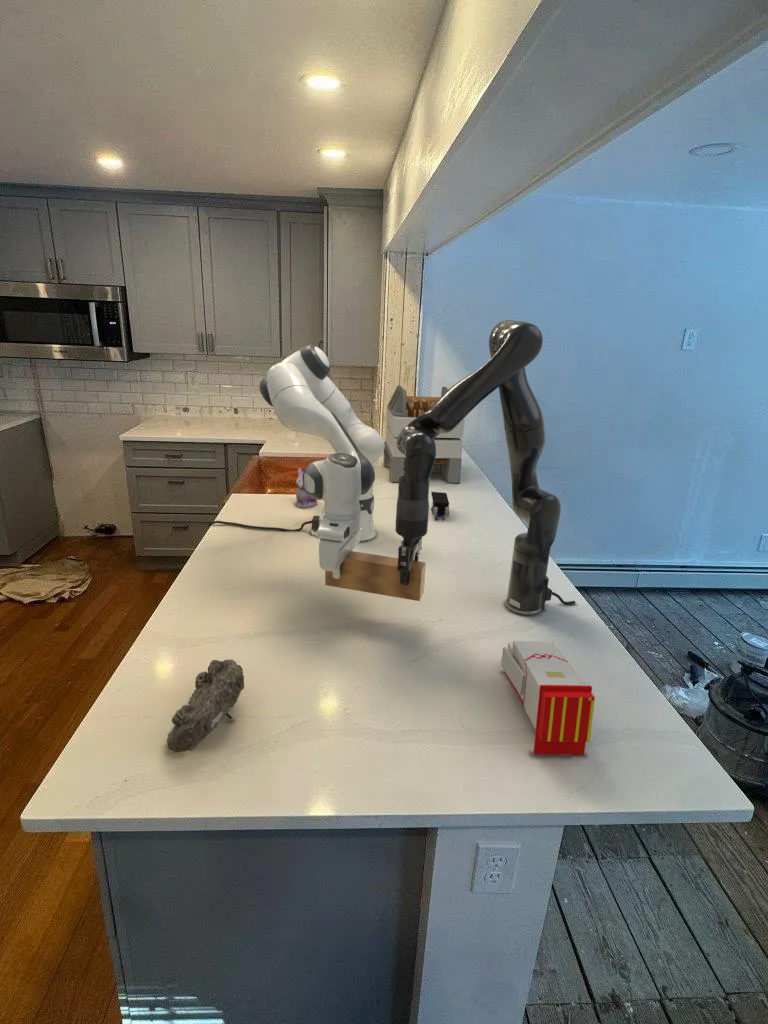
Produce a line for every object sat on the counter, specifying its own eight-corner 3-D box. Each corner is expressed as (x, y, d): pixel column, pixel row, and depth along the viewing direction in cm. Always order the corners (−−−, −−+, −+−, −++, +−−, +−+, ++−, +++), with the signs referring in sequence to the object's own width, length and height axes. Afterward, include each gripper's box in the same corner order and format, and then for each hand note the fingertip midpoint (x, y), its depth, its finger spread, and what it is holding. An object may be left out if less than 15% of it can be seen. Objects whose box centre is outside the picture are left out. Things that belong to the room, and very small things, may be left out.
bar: (325, 585, 142) (325, 555, 139) (331, 577, 146) (331, 547, 144) (419, 601, 136) (421, 570, 133) (423, 592, 141) (425, 562, 138)
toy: (549, 624, 127) (604, 693, 98) (544, 678, 130) (596, 762, 100) (496, 622, 127) (535, 692, 97) (491, 677, 129) (528, 761, 100)
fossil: (192, 660, 117) (244, 628, 112) (224, 691, 120) (276, 661, 115) (142, 746, 98) (202, 712, 93) (182, 779, 101) (242, 748, 96)
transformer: (382, 463, 289) (386, 382, 275) (445, 464, 293) (451, 384, 279) (390, 482, 257) (394, 392, 243) (460, 483, 261) (468, 394, 247)
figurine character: (449, 525, 213) (445, 507, 227) (451, 507, 210) (447, 490, 224) (431, 524, 213) (428, 507, 227) (433, 506, 210) (430, 490, 223)
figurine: (299, 509, 219) (299, 472, 214) (290, 501, 227) (290, 465, 222) (322, 506, 223) (322, 469, 218) (313, 498, 231) (313, 463, 226)
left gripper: (344, 505, 148) (343, 554, 153) (314, 533, 129) (314, 587, 134) (367, 509, 146) (365, 557, 151) (340, 537, 128) (339, 592, 132)
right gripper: (421, 526, 124) (417, 592, 130) (434, 506, 137) (430, 567, 143) (388, 522, 126) (385, 587, 132) (404, 502, 139) (401, 562, 145)
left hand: (341, 572), depth 142 cm, fingers closed on bar, 5 cm apart
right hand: (408, 576), depth 137 cm, fingers open, 8 cm apart
